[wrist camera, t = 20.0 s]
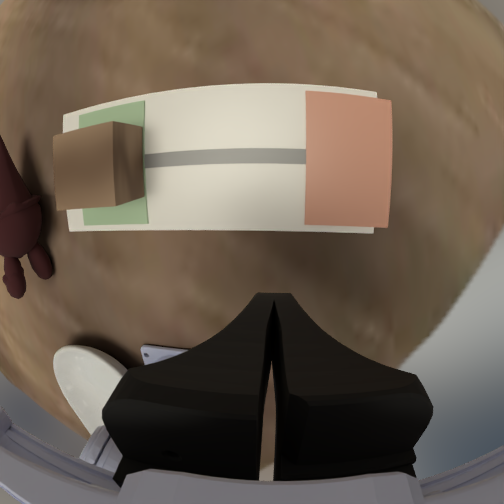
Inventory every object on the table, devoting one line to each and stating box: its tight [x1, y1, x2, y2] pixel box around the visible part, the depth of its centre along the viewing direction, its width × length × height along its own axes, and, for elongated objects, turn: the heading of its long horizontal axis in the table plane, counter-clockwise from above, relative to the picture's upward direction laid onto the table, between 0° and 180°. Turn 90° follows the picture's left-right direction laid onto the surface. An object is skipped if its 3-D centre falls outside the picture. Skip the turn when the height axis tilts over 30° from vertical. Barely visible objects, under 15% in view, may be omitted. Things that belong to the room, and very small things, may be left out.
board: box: [63, 83, 392, 234], centre depth 18 cm, size 10×25×1 cm, turn 90°
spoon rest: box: [53, 345, 127, 435], centre depth 25 cm, size 24×12×7 cm, turn 12°
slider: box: [53, 121, 144, 211], centre depth 16 cm, size 5×5×4 cm
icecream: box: [0, 135, 52, 299], centre depth 18 cm, size 7×7×15 cm
